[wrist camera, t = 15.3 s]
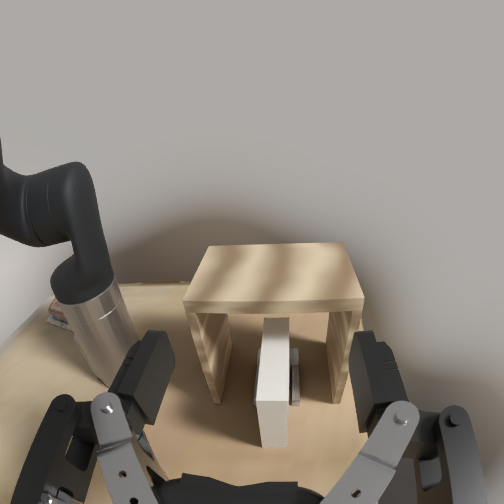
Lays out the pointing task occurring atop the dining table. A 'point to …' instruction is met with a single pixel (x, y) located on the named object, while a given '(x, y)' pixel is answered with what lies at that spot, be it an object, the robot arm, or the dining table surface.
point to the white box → (274, 383)
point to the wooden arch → (273, 303)
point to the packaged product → (57, 316)
